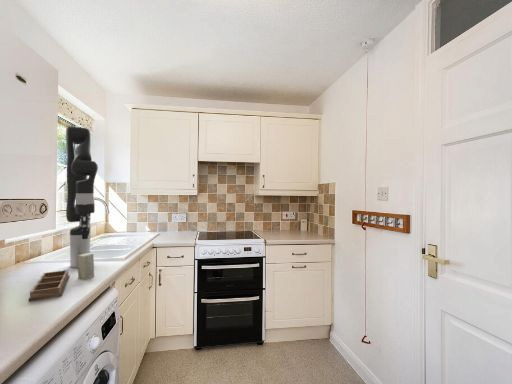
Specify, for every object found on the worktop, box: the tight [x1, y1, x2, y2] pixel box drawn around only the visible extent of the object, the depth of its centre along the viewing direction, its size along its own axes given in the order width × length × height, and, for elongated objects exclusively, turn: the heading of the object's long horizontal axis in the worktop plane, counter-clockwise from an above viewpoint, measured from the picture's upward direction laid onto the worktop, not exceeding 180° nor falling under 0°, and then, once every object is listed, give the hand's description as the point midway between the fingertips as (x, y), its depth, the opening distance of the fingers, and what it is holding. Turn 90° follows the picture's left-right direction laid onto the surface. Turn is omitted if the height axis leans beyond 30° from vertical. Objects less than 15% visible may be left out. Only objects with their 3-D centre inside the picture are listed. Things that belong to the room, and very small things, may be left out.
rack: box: [28, 269, 70, 302], centre depth 113 cm, size 26×10×4 cm, turn 29°
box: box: [77, 252, 95, 281], centre depth 126 cm, size 5×4×11 cm
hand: (85, 237), depth 126 cm, fingers open, 8 cm apart
